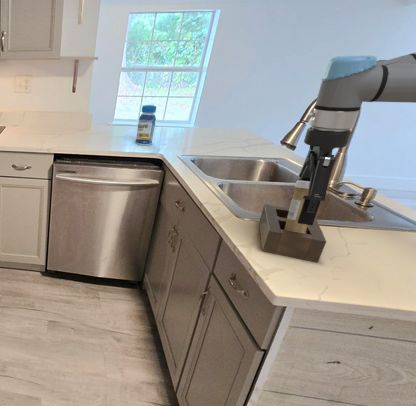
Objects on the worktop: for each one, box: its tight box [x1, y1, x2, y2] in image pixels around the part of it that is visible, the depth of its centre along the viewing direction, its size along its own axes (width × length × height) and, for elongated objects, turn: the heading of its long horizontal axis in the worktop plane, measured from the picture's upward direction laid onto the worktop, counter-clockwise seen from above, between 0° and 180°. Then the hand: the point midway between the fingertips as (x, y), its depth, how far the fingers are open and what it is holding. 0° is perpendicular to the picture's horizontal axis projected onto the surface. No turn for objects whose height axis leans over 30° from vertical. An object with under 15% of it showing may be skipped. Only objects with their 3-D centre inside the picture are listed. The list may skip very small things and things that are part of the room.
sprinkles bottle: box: [284, 179, 317, 234], centre depth 93 cm, size 5×5×13 cm
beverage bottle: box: [135, 104, 157, 146], centre depth 193 cm, size 8×8×20 cm
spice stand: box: [258, 203, 327, 263], centre depth 98 cm, size 11×20×6 cm, turn 147°
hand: (301, 214), depth 92 cm, fingers open, 11 cm apart
